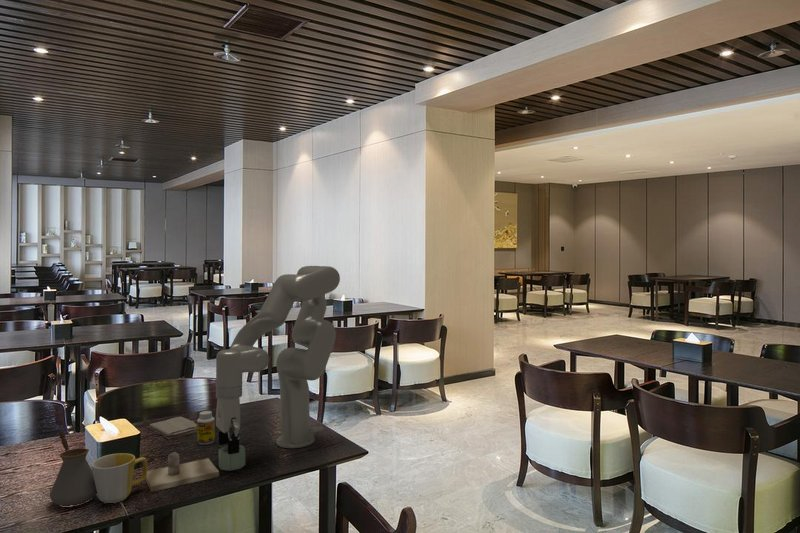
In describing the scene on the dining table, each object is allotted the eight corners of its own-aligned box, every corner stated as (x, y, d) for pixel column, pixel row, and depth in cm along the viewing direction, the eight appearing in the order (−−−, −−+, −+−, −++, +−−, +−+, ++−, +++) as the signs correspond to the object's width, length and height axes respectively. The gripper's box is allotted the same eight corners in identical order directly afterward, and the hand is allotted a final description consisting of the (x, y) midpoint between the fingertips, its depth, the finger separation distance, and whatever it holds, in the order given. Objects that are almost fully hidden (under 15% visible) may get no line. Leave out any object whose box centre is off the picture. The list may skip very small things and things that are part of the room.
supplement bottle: (196, 445, 188) (195, 415, 187) (199, 440, 193) (198, 410, 193) (213, 444, 189) (212, 414, 188) (216, 439, 194) (215, 409, 194)
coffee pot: (106, 501, 148) (103, 444, 147) (55, 515, 140) (52, 456, 140) (85, 476, 164) (83, 425, 163) (38, 488, 156) (36, 435, 156)
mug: (97, 512, 142) (96, 471, 141) (88, 498, 150) (87, 459, 149) (154, 496, 151) (153, 457, 150) (143, 484, 158) (142, 446, 158)
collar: (240, 459, 176) (240, 443, 175) (247, 466, 170) (247, 450, 169) (216, 464, 172) (216, 448, 172) (223, 472, 166) (222, 455, 165)
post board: (208, 463, 173) (207, 438, 172) (218, 476, 163) (218, 450, 162) (144, 476, 163) (143, 451, 163) (151, 492, 153) (150, 464, 153)
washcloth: (169, 441, 194) (169, 432, 194) (147, 430, 206) (147, 421, 206) (202, 432, 202) (201, 424, 202) (179, 422, 215) (178, 414, 215)
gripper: (209, 387, 175) (208, 442, 175) (224, 399, 160) (223, 459, 160) (233, 384, 179) (232, 438, 179) (250, 396, 164) (250, 455, 164)
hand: (228, 448), depth 170 cm, fingers open, 9 cm apart
